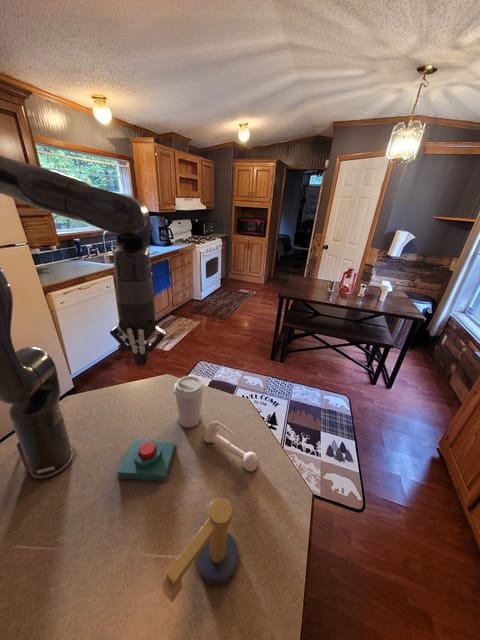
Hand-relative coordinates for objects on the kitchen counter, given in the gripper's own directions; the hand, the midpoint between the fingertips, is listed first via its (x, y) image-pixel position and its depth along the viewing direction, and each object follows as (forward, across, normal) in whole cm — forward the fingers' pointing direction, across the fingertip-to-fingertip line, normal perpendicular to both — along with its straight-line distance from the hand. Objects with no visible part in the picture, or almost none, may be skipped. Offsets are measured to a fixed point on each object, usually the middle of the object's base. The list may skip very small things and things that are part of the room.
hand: (142, 364), depth 62 cm
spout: (+18, +19, -28) cm, 38 cm away
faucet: (+29, +23, +1) cm, 37 cm away
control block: (+29, +1, -4) cm, 29 cm away
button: (+25, +1, -4) cm, 26 cm away
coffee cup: (+29, +9, +12) cm, 33 cm away
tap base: (+29, +22, -24) cm, 44 cm away
